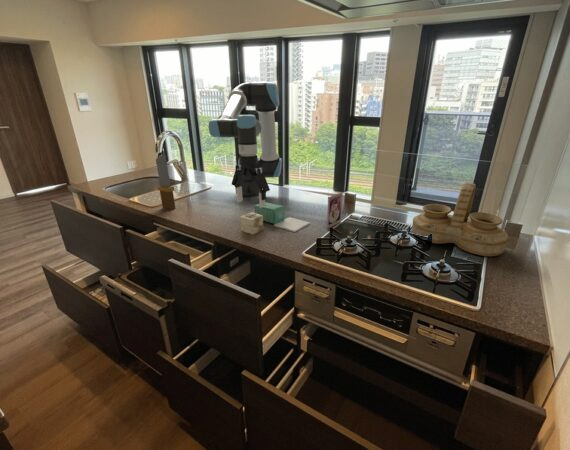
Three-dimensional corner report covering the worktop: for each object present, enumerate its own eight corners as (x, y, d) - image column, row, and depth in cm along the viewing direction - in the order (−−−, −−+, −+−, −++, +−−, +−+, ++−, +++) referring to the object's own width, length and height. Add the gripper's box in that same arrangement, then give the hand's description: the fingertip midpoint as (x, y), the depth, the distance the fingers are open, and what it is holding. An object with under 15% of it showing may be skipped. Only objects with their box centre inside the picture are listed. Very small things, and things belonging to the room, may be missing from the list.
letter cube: (252, 226, 140) (251, 212, 137) (263, 229, 136) (262, 215, 133) (241, 230, 135) (240, 216, 132) (252, 234, 131) (251, 219, 128)
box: (275, 224, 139) (274, 209, 136) (255, 219, 147) (253, 205, 144) (285, 220, 144) (284, 205, 141) (265, 215, 152) (264, 201, 150)
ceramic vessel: (403, 239, 125) (413, 181, 116) (417, 225, 139) (426, 172, 129) (500, 264, 105) (521, 197, 96) (505, 246, 119) (524, 185, 109)
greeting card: (328, 229, 135) (330, 197, 129) (315, 225, 140) (316, 194, 134) (342, 222, 143) (344, 192, 137) (329, 218, 148) (330, 189, 142)
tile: (289, 218, 148) (289, 217, 148) (309, 224, 141) (309, 222, 141) (274, 226, 139) (274, 224, 139) (294, 232, 132) (294, 230, 132)
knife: (177, 208, 164) (168, 153, 152) (171, 210, 161) (162, 154, 149) (166, 206, 167) (157, 151, 156) (161, 208, 164) (151, 152, 153)
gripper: (220, 153, 126) (225, 201, 134) (265, 158, 112) (266, 211, 120) (233, 151, 132) (237, 197, 140) (277, 156, 118) (278, 207, 126)
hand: (250, 204), depth 130 cm, fingers open, 13 cm apart
